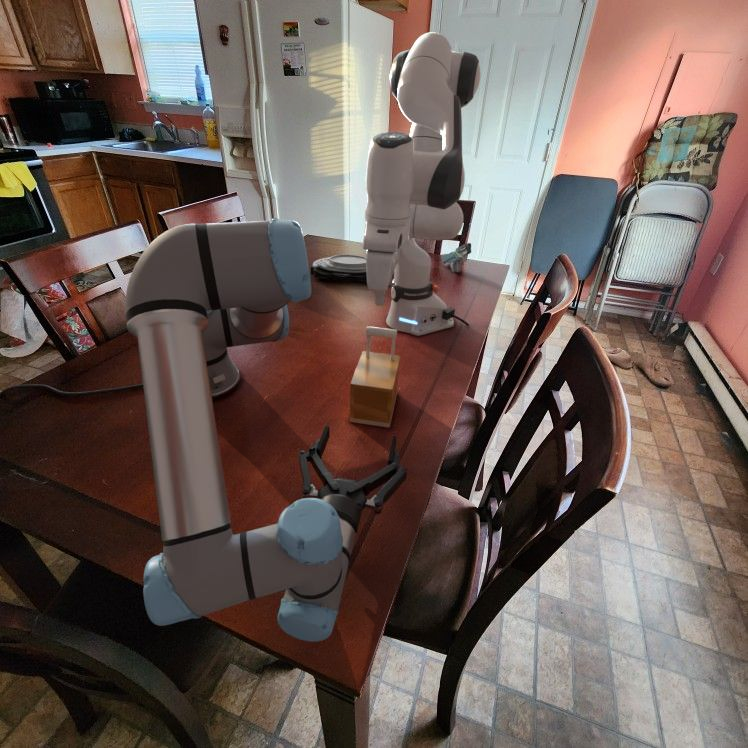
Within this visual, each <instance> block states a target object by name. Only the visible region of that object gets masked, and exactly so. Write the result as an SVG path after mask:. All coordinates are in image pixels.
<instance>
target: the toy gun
mask: <svg viewBox="0 0 748 748" xmlns="http://www.w3.org/2000/svg"><path fill="white" fill-rule="evenodd" d="M470 254H472V244H471V242H468V243H464V244H462V245H460V246H459V247H456V248H455V250H453V251H451V252H449V253H443V254H441V263H442V264H443V265H444V267H450V269H451V271H452V273H461V271H462V264H463V263H466V262H467V261H468V257H469V255H470Z"/></svg>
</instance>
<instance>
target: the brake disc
mask: <svg viewBox="0 0 748 748" xmlns="http://www.w3.org/2000/svg"><path fill="white" fill-rule="evenodd" d="M310 276H313V277H314V278H318V279H322V278H323V279H327V280H332V281H333V280H334V281H339V282H340V281H341V282H355V283H356V282H359V283H360V282H364V283H367V273H366V256H362V255H357V254H335V255H332V256H330V257H329V256H328V257H323V258H319V259H316V260H314V261H313V263H312V265H310Z"/></svg>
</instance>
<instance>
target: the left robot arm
mask: <svg viewBox="0 0 748 748" xmlns="http://www.w3.org/2000/svg"><path fill="white" fill-rule="evenodd" d="M141 253H142V254H141V255H140V257H139V258H138V260H137V262H135V264H134V266H133V269H132V272H131V274H130V277H129V278H128V283H127V288H126V293H125V297H124V312H125V313H124V315H125V322H126V329H127V332H129V333H130V334H131V335H133V336H134V337H135V338H137V345H138V354H139V362H140V369H141V370H140V371H141V378H142V379H141V380H142V383H139V384H134V385H129V386H122V387H113V388H105V389H98V390H91V391H90V390H89V391H78V392H77V391H76V392H74V391H73V392H69V391H63V390H59V389H57V388H55V387H54V386H51V385H47V384H38V383H37V384H36V383H35V384H18V385H12V386H8V387H6V388H4V389H3V390H1V391H0V397H2V396H4V395H5V394H6V393H7V392H10V391H13V390H18V389H29V388H30V389H31V388H34V389H35V388H36V389H37V388H39V389H40V388H41V389H47V390H50V391H51V392H54V393H56V394H59V395H61V396H70V397H71V396H72V397H73V396H75V397H76V396H87V395H88V396H89V395H96V394H97V395H98V394H104V393H111V392H112V393H113V392H120V391H121V392H122V391H126V390H132V389H133V390H134V389H138V388H143V395H144V403H145V411H146V419H147V427H148V436H149V446H150V453H151V461H152V469H153V477H154V486H155V493H156V501H157V511H158V518H159V527H160V537H161V541H162V546H163V547H162V552H160V553H159V554H158V555H157V554H156V555H155V556H152V557H151V558H150V559H149V560H148V561H147V562H146V564H145V568H144V571H143V579H142V580H143V591H142V595H143V601H144V607H145V611H146V614H147V617H148V618H149V620H150V621H151V622H152V623H153V624H154V625H155V626H158V627H164V626H169V625H173V624H176V623H179V622H180V623H181V622H184V621H189V620H191V619H195V620H196V619H201V618H202V617H203V616H207V615H209V614H213V613H216V612H218V611H221V610H225V609H228V608H230V607H233V606H236V605H239V604H242V603H245V602H249V601H252V600H256V599H259V598H262V597H265V596H269V595H272V594H275V593H278V592H282V591H284V595H283V597H282V598H281V600H280V606H279V610H278V613H277V619H276V620H277V624H278V626H279V628H280V629H281V630H282V631H283V632H284V633H285V634H286V635H289V636H291V637H292V638H294V639H297V640H301V641H305V642H310V643H315V642H322V641H325V640H326V639H328V638H330V636H331V635H332V633H333V630H334V626H335V623H336V620H337V616H339V612H340V611H339V608H340V603H341V599H342V595H343V590H344V586H345V582H346V577H347V573H348V570H349V569H348V568H349V564H350V562H351V557H352V553H353V550H354V547H355V546H354V545H355V541H356V537H357V533H358V529H359V526H360V522H361V517H362V514H363V513H362V512H363V511H364V510H365V509H371V510H373V513H374V514H375V515H380V514H381V513H382V511H383V508H384V505H385V504H386V502H388V501H389V499H390V498H391V497H392V496H393V495H394V494H395V492H396V491H397V490H398V489H399V488H400V487H401V486H402V485H403V484H404V482H405V481H406V480H407V475H408V467H406V466H400V465H399V464H400V457H401V453H400V451H396V449H397V439H398V437H397V436H392V439H391V444H390V449H389V453H388V458H387V465H386V466H384V467H383V468H382V469H380V470H378V471H376V472H375V473H373V474H372V475H370V476H368V477H367V478H365V477H364V478H362V479H361V480H359V481H356V479H346V478H343V477H339V476H338V477H337V478H334V476H333V475H332V473H331V472H329V470H328V469H327V467H326V465H325V464H324V462H323V461H322V457H323V454H324V452H325V449H326V447H327V444H328V442H329V439H330V437H331V436H330V433H331V432H330V426H329V425H325V427H324V429H323V431H322V434H321V436H320V439H317V438H316V439H315V440H314V441H313V443H312V446H309V447H308V451H305V450H303V449H301V450H299V452H298V460H299V461H298V462H299V467H300V472H301V478H302V483H303V485H302V487H301V490H302V491H301V493H302V498H301V499H297V500H296V501H294V502H293V503H291V504H290V505H288V506H287V507H286V508H284V509H283V510H282V512H281V514H280V515H279V517H278V521H277V523H273V524H271V525H266V526H263V527H259V528H256V529H252V530H248V531H243V532H240V533H236V534H234V533H233V529H232V525H231V523H232V520H231V513H230V506H229V500H228V494H227V493H228V492H227V488H226V481H225V475H224V474H225V473H224V468H223V462H222V455H221V449H220V442H219V435H218V429H217V423H216V416H215V409H214V403H213V400H218V399H220V398H223V397H226V396H228V395H229V394H231V393H232V392H233V391H235V390H236V388H237V387H238V386H239V384H240V383H241V376H240V375H241V374H240V371H239V369H238V367H237V365H236V364H235V362H234V360H233V359H232V358H231V356H230V355H229V352H228V348H232V347H233V348H234V347H240V346H241V347H242V346H247V345H254V344H255V345H256V344H262V343H263V344H264V343H269V342H270V343H275V342H278V341H282V340H285V339H286V338H287V337H288V335H289V331H290V314H289V307H288V303H294V304H295V303H300V302H301V301H306V300H308V299H310V298H311V296H312V281H311V271H310V265H309V260H308V254H307V248H306V242H305V238H304V232H303V229H302V227H301V225H300V224H299V222H298V221H296V220H293V219H279V218H277V217H276V218H270V220H252V221H250V220H249V221H233V222H210V223H206V222H205V223H185V224H179V225H177V226H173V227H171V228H170V229H168V230H165V231H164V232H162V233H161V234H160V235H158V236H157V237H155V239H153V240H151V242H150V243H149V244H148V246H147V247H146V248H145V249H144V250H143V252H141ZM21 385H22V386H21ZM14 388H16V389H14ZM308 462H309V463H310V464H311V466H312V467H313V469H314V471H315V473H316V475H317V476H318V478H319V479H320V481H321V483H322V485H323V486H322V487H321V488H319V489H318V490H317V488H316V486H315V485H314V484H313V483H312V478H311V473H310V469H309V463H308ZM382 485H383V486H382ZM381 486H382V487H381ZM380 487H381V489H379V491H378V492H377V494H374V495H373V496H372V497H371V498H368V496H369V495H370V493H372V492H373V491H375V490H376V489H378V488H380Z"/></svg>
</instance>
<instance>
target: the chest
mask: <svg viewBox="0 0 748 748" xmlns="http://www.w3.org/2000/svg"><path fill="white" fill-rule="evenodd" d="M400 362H401V361H400ZM400 362H399V366H398V371H397V375H396V379H395V383H394V388H393V392H392V393H390V392H383V391H376V390H368V389H361V388H354V387H350V386H349V389H350V390H349V422H350V423H355V424H361V425H362V424H363V425H369V426H376V427H382V428H383V427H384V428H390V427H391V424H392V418H393V413H394V409H395V405H396V400H397V397H398V396H397V395H398V387H399V376H400V375H399V374H400V366H401V365H400V364H401V363H400Z"/></svg>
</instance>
